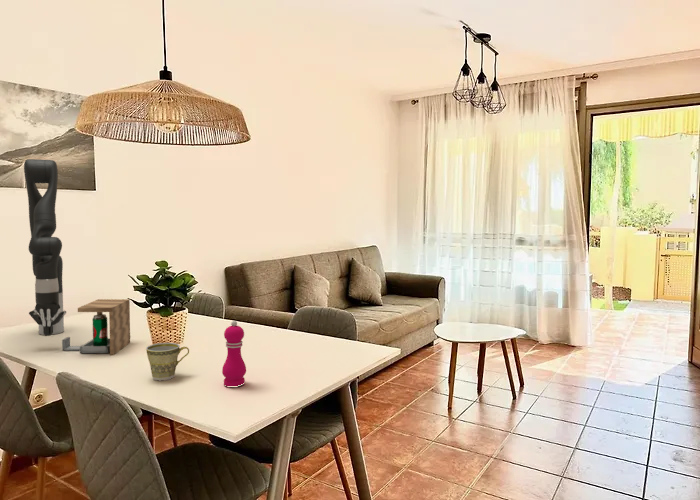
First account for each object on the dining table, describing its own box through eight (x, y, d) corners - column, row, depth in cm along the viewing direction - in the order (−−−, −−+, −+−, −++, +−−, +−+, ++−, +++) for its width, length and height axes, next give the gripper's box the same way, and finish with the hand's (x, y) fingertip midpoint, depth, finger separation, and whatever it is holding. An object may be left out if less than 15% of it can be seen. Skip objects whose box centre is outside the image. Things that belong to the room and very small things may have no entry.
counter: (99, 342, 202) (98, 299, 200) (130, 342, 203) (129, 299, 201) (78, 355, 184) (77, 308, 183) (112, 355, 185) (112, 308, 184)
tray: (72, 344, 197) (72, 334, 197) (120, 344, 199) (119, 334, 198) (57, 353, 185) (56, 342, 185) (108, 352, 187) (107, 342, 186)
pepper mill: (224, 380, 159) (224, 318, 158) (247, 380, 160) (247, 318, 158) (220, 388, 152) (220, 323, 151) (244, 388, 153) (244, 323, 151)
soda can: (101, 348, 189) (101, 317, 188) (90, 347, 190) (89, 316, 189) (110, 345, 194) (110, 314, 193) (99, 344, 195) (98, 313, 194)
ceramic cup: (147, 384, 155) (146, 352, 154) (146, 374, 164) (145, 344, 163) (191, 379, 160) (190, 348, 160) (187, 370, 169) (187, 340, 169)
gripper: (22, 291, 185) (24, 338, 187) (60, 292, 186) (62, 338, 188) (33, 288, 192) (35, 332, 194) (70, 288, 193) (71, 332, 195)
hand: (48, 335), depth 191 cm, fingers closed
